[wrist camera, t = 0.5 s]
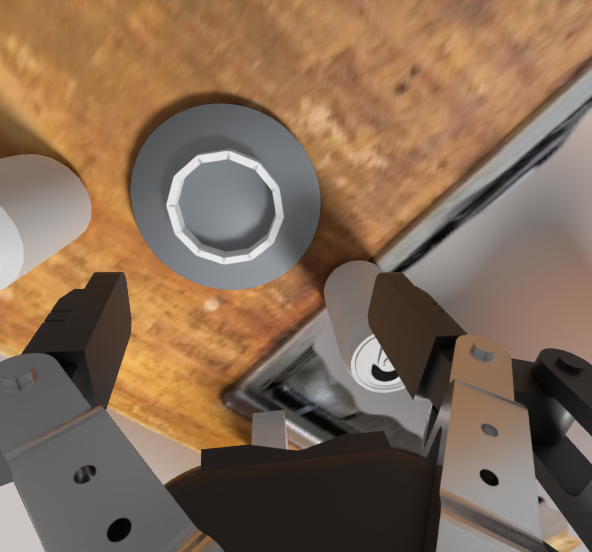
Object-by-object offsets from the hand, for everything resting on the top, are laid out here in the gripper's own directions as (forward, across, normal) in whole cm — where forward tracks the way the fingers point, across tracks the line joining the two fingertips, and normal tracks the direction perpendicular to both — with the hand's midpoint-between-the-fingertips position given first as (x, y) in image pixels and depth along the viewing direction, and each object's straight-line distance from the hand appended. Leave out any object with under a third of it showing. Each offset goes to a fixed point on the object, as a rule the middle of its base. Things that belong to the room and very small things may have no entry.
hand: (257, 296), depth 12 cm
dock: (+22, 0, +4) cm, 22 cm away
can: (+24, +15, +5) cm, 28 cm away
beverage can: (+20, -12, +11) cm, 26 cm away
